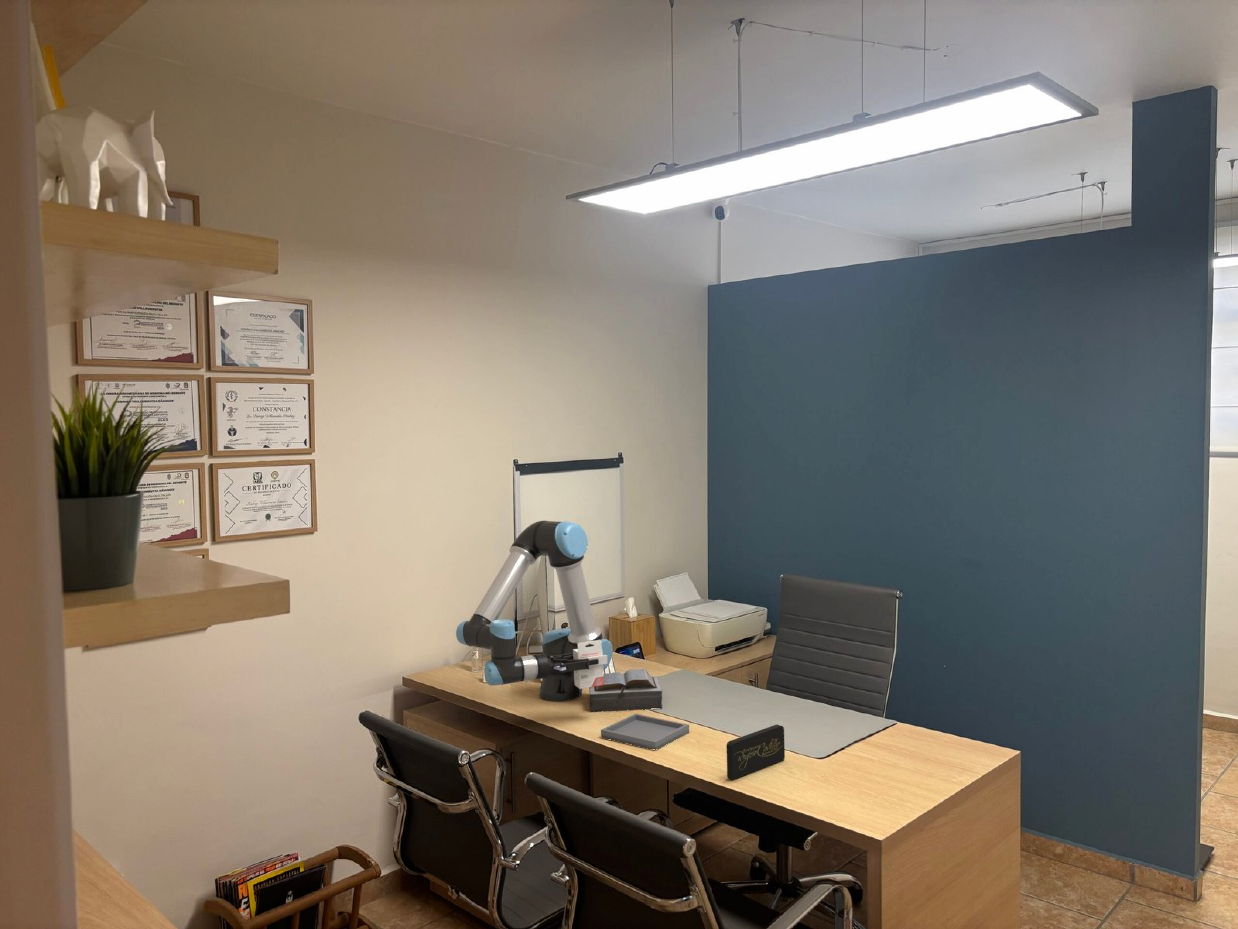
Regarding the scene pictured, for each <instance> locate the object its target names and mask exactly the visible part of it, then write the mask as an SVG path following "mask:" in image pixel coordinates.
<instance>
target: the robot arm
mask: <svg viewBox="0 0 1238 929" xmlns="http://www.w3.org/2000/svg"><path fill="white" fill-rule="evenodd" d="M588 545H589V540H588V535H587V533H586V531H585V529H584V528H583V526H581V525H580V524H578V523H575V522H572V521H567V520H566V521H555V520H554V521H553V520H552V521H551V520H538V521H536V522H533V523H531V524H530V525H529V526H527V527H526V528H525V529H524V530H523V531H522V532H520V534H519V535H518V536H517V537H516V538H515V539H514V541H513V543H512V544H511V546H510V547H509V555H508V557H507V558H506V560H505V562H504V563H503V565H502V567H501V568H500V570H499V571H498V573H497V575H496V576H495V577H494V580H493V581H492V582H491V584H490V586H489V588H488V589H487V591H486V593H485V594H484V596H483V598H482V599H481V601H480V602H479V604H478V606H477V608H476V609H475V611H474V612H473V614H472V616H471V618H470V619H469V620H464V621H461V622H460V623H459V624H458V625H457V626H456V630H455V636H456V640H457V641H458V643H460V644H462V645H465V646H467V647H475V648H481V649H484V650H489V651H490V655H491V656H490V658H491V659H490V660H488V661H486V662H484V668H483V675H484V679H485V682H486V683H487V685H489V686H503V685H508V684H514V683H515V684H516V683H519V682H524V683H528V682H529V681H534V680H541V684H540V687H539V692H538V693H539V694H538V695H539V699H542V700H544V701H549V702H550V701H551V702H565V701H571V700H572V701H573V700H575V699H578V698H579V697H581V696H583V688H582V689H579V688H578V687H577V686H575V681H574V671H576V670H583V669H587V670H588V669H589V666H596V665H603V672H604V671H605V670H606V669H607V668H608V667H609V665H610V663H611V661H612V657H613V652H614V651H613V645H612V642H611V641H610V640H609V639H607V638H604V637H603V633H602V629H601V627H599V626H597V625H596V622H595V617H594V614H593V609H592V605H591V600H590V597H589V592H588V588H587V584H586V580H585V575H584V570H583V567H582V562H583V560H584V559H585V554H586V552H587V550H588ZM541 556H546V557H547V559H548V562H549V565H550V567H551V568H552V569H553V568H554V569H555V572H556V576H557V580H558V583H559V589H560V593H561V597H562V600H563V604H564V608H565V612H566V613H565V614H566V617H567V621H568V625H569V627H564V628H557V629H552V630H548V631H545V632H544V633H543V635H542V643H541V645H542V648H541V649H542V653H539V654H534V655H532V654H529V655H525V656H518V657H517V653H516V651H517V648H516V630H515V622H514V621H513V620H512V619H507V618H505V619H504V618H502V619H501V618H500V616H501V614H502V612H503V611H504V609H505V608H506V606H507V604H508V603H509V601H510V599H511V598H512V596H513V595H514V592H515V590H516V589H517V587H518V585H520V582H521V580H522V579H523V577H524V576H525V574H526V572H527V570H529V567H530V565H531V566H532V565H534V564H535V563H536V561H537V559H539V558H540V557H541ZM499 618H500V619H499ZM596 640H601V645H602V652H603V655H602V656H595V657H588V658H587V659H577V660H573V649H578V645H577V644H578V643H581V642H587V641H596ZM592 646H594V645H593V644H592V645H591V644H589V645H586V646H585V647H592Z"/></svg>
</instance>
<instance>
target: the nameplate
mask: <svg viewBox="0 0 1238 929" xmlns="http://www.w3.org/2000/svg"><path fill="white" fill-rule="evenodd" d="M785 750H786V749H785V726H783V725H779V724H773V725H771V726H768V727H765V728H763V729H760V730H756V731H754V732H751V733H748V734H746V735H742V736H740V737H736V738H734V739H732V740H729V741H727V743H726V773H727V774H726V776H727V777H726V778H728V779H729V780H732V781H737V780H739V779H742V778H744V777H747V776H749V775H751V774H754V773H757V772H759V771H763V770H764V769H767V768H770V767H772V766H774V765H777V764H780V763H782V762H784V761H785V757H786V756H785V755H786V751H785Z"/></svg>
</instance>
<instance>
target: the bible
mask: <svg viewBox="0 0 1238 929" xmlns="http://www.w3.org/2000/svg"><path fill="white" fill-rule="evenodd" d="M603 674H604V685H601V686H595V687H588V689H589V707H590V708H589V709H590V713H601V712H602V711H603V713H604V712H605V713H606V712H623V711H624V712H627V710H628V711H646V710H645V709H651V708H661V709H663V703H662V702H663V689H662V685H661V684H660V683H661V682H660V680H659V678H658V675H651V674H650V673H649V671H648V670H647V669H646V668H636V669H628V670H626V671H625V672H624V673H623V672H619V671H615V672H613V671H612V672H607V673H604V672H603ZM642 709H643V710H642Z"/></svg>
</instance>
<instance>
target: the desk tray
mask: <svg viewBox="0 0 1238 929" xmlns="http://www.w3.org/2000/svg"><path fill="white" fill-rule="evenodd" d="M689 733H690V724H688V723H682V722H678V721H673V720H669V719H664V718H660V717H659V718H658V717H655V716H649V715H645V714H644V715H643V714H639V713H634V714H632V715H629V716H627V717H625V718H623V719H621V720H619V721H616V722H615V723H613V724H611V725H609V726H606V727H604V728H602V729H600V737H602V738H601V739H603V738H605V739H604V740H607V739H611V740H610V741H612V740H615V741H614V742H616V741H619V742H618V743H620V742H622V743H621V744H625V743H628V744H627V745H629V744H632V745H631V746H633V745H635V746H634V747H637V746H640V747H639V748H642V747H644V748H643V749H646V748H648V749H647V750H650V749H655V750H656V749H658V750H660V749H662V748H663V747H662V746H664V747H666V746H667V745H669V744H671V743H673V742H674V740H675V741H676V739H677V740H679V739H680V738H682V737H684V736H686V735H688V734H689ZM668 743H669V744H668ZM666 744H667V745H666ZM665 745H666V746H665ZM661 747H662V748H661ZM659 748H660V749H659ZM655 750H654V751H655ZM656 751H657V750H656Z"/></svg>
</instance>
